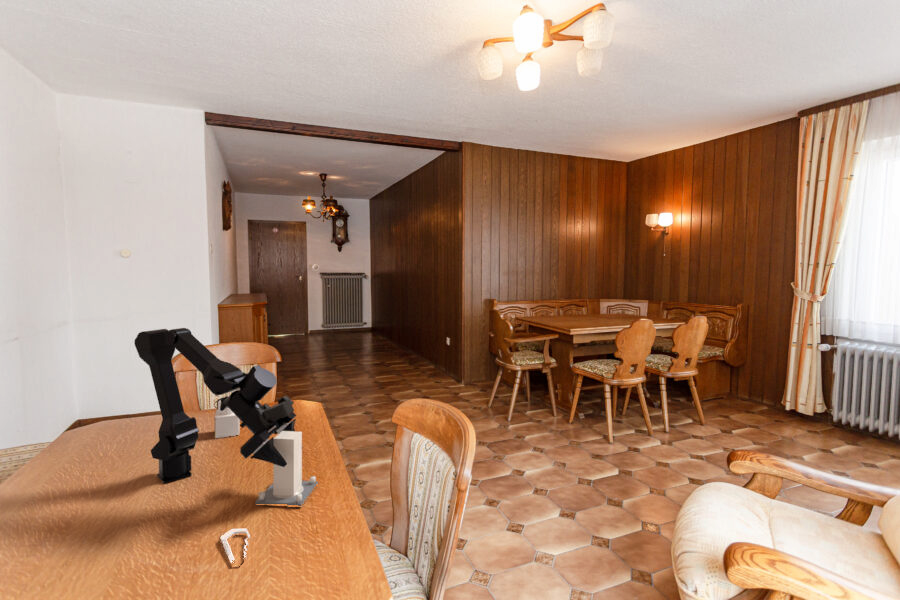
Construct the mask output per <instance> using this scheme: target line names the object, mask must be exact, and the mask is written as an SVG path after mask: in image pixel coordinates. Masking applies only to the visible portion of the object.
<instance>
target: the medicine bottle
mask: <svg viewBox="0 0 900 600" xmlns="http://www.w3.org/2000/svg"><path fill="white" fill-rule="evenodd" d="M224 397H225V396H224ZM224 397H220V398H219V399H217V401H216V410H215V413H214V414H215V415H214V438H215V439H222V438H230V437H229V436H231V437H236V435H238V436H239V435H240V419H239V418H238V417H237V416H236V415H235V414H234V413H233V412H232V411H231V410H230V409H229V408H226V409H225V410H223V411H221V410H220V406H221V399H223V398H224Z"/></svg>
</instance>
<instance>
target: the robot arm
mask: <svg viewBox="0 0 900 600" xmlns="http://www.w3.org/2000/svg"><path fill="white" fill-rule="evenodd" d="M134 346H135V348H136V351H137V354H138V356H139V358H140V359H141V360H142V361H144V363H146V365H148V367H149V370H150V374H151V377H152V378H151V379H152V381H153V386H154V390H155V391H154V392H155V393H156V398H157V402H158V406H159V410H160V414H161V418H162V421H161V423H160V427H159V428H158V429H159V430H158V440H159V441H157V443H156V444H155V445H154V446H153V447H152V449H150V453H151V454H150V455H151V456H152V459H155V460H158V472H157V474H156V477H158V479H159V480H160V481H161V482H162V483H163V484H168V483H173V482H175V481H178V480H179V481H180V480H182V479H185V478H188V477H191V476H192V474H193V473H192V472H191V471H192V456H191V454H190V451H191V450H194V449H195V447H196V445H197V441H198V439H199V432H200V430H199V428H198V425H197V419H196V417H194V416H193V417H191V416H189V415H188V414H187V413H186V412H185V409H184V406H183V402H182V397H181V392H180V390H179V389H180V388H179V385H178V382H177V377H176V372H175V370H174V369H175V368H174V365H173V362H172V359H173V357H174V354H175V351H176V350H177V351H178V352H179V353H180V355H182V357H184V358H185V359H186V360H187V361H188V362H190V364H191V365H192V366H194V367H195V368H196V369H197V370H198V371H199V372H200V373H201V375H202V378H203V383H204V384H205V385H206V387H207V388H208V389H209V391H210V392H211V393H212V394H213V395H215V396H222V395H225V394H228V393H231V394H229V395H227V396H224V398H223V397H222V398H223V399H221V406H220V410H221V411H223V410H225V409H226V408H229V409H230V410H231V411H232V412H233V413H234V414H235V415H236V416H237V417H238V418H239V421H240V422H241V423H239V427H241V428H242V429H243V428H245V427H246V428H247V429H248V430H249V432H250V433H252V436H251V437H250V438H249V439H248V440H246V442H245V443H243V444H242V445H241V446H240V448H239V449H240V451H239V452H240V453H239V454H240V455H241V456H242V457H243V458H244V459H246V460H247V459H248V458H249V457H250V459H251V460H253V459H255V460H259V461H264V462H267V463H271V464H276V465H279V466H282V467H285V466H286V465H287V462H286V461H285V459H284V458H283V457H282V455H281V454H280V453H279V452H278V450H277V449H276V448H275V447H274V440H273V438H274V436H272V435H278V434H279V433H280V432H282V431H295V432H296V429H295V423H296V421H297V418H295V417H297V414H296V413H295V409H294V407H293V405H294V403H295V402H294V400H292V398H290V397H289V396H287V395H284V396H281V397H280V398H278V399H277V403H276V404H274V405H272V406H270V404H268V403H264V404H262V403H261V402H260V401H261V400H263V398H264V397H265V396H267V394H268V393H269V392H270V391H271V390H273V388H274V387H275V386H276V385H277V384H278V383H277V377H276V375H275V374H274V373H273V372H272V371H270V370H269V369H266V368H262V366H261V365H260V364H258V365H253V366H252V367H251V368H250V370H249V371H248V372H244V371H242V370H241V369H240V368H239V367H237V366H236V365H234V364H233V363H231V362H227V361H224V360H221V359H220V358H218V357H217V356H216V355H215V354H214V353H212V351H210V350H209V349H208V348H207V347H206V346H205V345H204V344H203V343H202V342H201V341H199V340H198V338H196V337H195V336H194V335H193V334H192V331H191V330H190V329H189V328H186V327H180V328H171V329H169V330H168V329H167V328H160V329H154V330H145V331H141V332H140V331H139V333H137V336H136V337H135V339H134ZM271 436H272V437H271ZM269 438H270V439H269ZM302 449H303V446H302Z"/></svg>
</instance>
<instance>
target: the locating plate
mask: <svg viewBox="0 0 900 600" xmlns="http://www.w3.org/2000/svg"><path fill="white" fill-rule="evenodd" d="M316 479H317V477H316V476H315V475H313V476H310V477H309V480H302V486H301V487H300V489H299V490H298V491H297V493H296V494H295V495H294V496H285V495H273V482H272V483H271V484H270V486H268V487H267V489H266V490H264V491H260V492H258V498H257V499H256V500H255V505H256V504H287V505H298V506H301V505H302V504H303V503H304V501H305V500H306V499H307V497H308V496H309V494H310V493H311V492H312V490H313V489H314V487H315V486H316V484H317V483H318V484H319V481H317V480H316Z"/></svg>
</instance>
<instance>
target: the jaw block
mask: <svg viewBox="0 0 900 600" xmlns="http://www.w3.org/2000/svg"><path fill="white" fill-rule="evenodd" d="M273 440H274V447H275V448H276V449H277V450H278V452H279V453H280V454H281V455H282V457H283V458H284V459H285V461H286V462H287V465H286V466H285V467H282V466H279V465H276V464H273V463H272V464H273V465H272V466H273V467H272V468H273V470H272V471H273V472H272V473H273V476H272V477H273V481H272V483H273V495H285V496H294V495H295V494H296V493H297V491H298V490H299V489H300V487H301V486H302V481H303V472H302V471H303V448H302V447H303V431H296V430H295V431H282V432H280V433H279V434H278V433H277V434H276V435H275V437H273Z"/></svg>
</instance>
